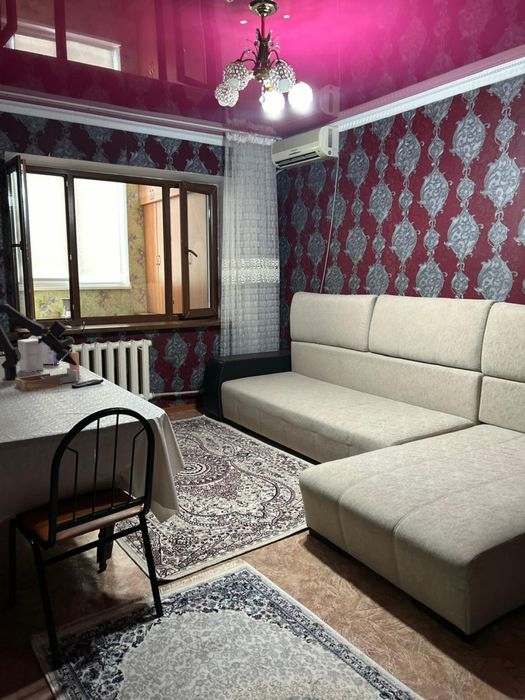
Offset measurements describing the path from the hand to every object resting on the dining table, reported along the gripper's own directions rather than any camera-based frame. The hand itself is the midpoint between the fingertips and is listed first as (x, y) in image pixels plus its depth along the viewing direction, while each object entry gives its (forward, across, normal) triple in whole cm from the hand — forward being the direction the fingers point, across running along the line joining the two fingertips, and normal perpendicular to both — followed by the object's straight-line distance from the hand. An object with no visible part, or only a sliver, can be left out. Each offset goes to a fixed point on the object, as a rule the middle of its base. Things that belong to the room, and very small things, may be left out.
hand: (77, 363), depth 282 cm
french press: (-16, +50, +25) cm, 58 cm away
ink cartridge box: (-10, +37, +19) cm, 42 cm away
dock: (-6, -19, +16) cm, 25 cm away
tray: (-1, -14, +10) cm, 17 cm away
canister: (+4, 0, +6) cm, 7 cm away
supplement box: (-14, +21, +24) cm, 34 cm away
